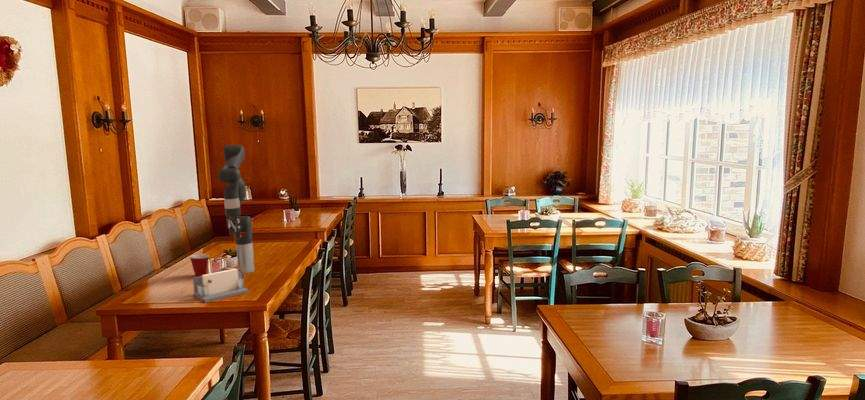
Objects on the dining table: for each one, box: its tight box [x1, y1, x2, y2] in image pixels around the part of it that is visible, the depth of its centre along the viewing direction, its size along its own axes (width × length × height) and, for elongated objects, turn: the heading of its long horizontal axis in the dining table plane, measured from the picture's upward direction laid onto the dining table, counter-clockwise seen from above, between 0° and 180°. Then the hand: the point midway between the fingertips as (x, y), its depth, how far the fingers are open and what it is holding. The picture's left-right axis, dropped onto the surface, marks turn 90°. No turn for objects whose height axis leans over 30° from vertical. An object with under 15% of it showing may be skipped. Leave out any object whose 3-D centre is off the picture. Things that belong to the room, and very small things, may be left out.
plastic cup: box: [188, 254, 211, 277], centre depth 304 cm, size 11×11×12 cm
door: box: [202, 268, 238, 295], centre depth 268 cm, size 4×17×10 cm, turn 132°
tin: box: [218, 266, 247, 280], centre depth 289 cm, size 15×3×8 cm, turn 84°
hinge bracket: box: [192, 276, 250, 303], centre depth 268 cm, size 16×22×10 cm
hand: (235, 237), depth 275 cm, fingers open, 8 cm apart
